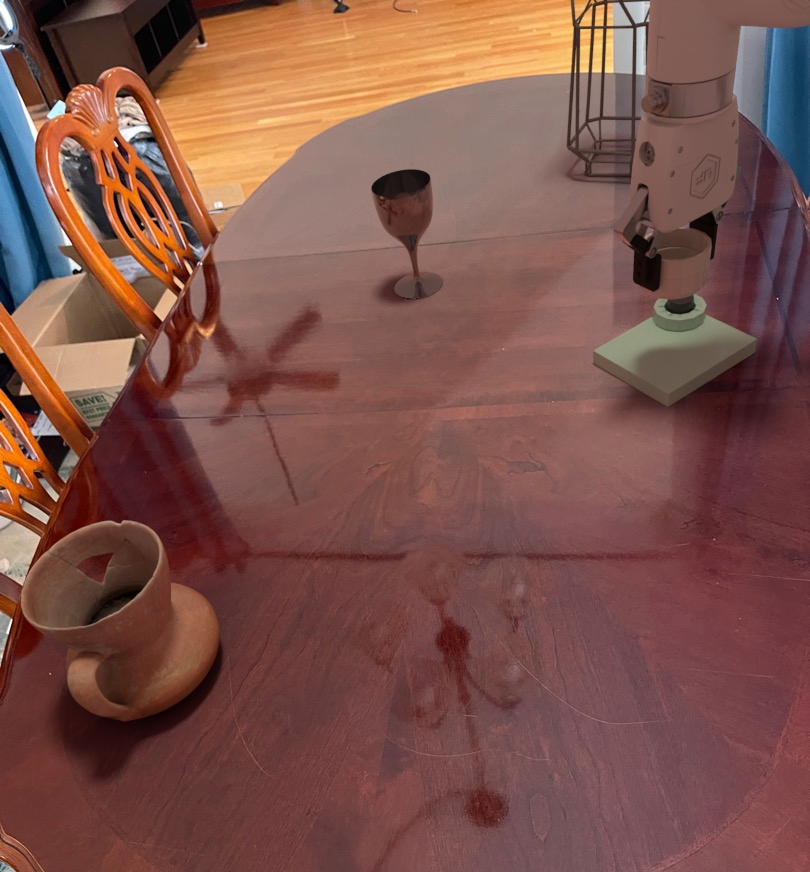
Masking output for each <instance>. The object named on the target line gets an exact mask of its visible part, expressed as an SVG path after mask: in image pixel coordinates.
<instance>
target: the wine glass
mask: <svg viewBox="0 0 810 872" xmlns="http://www.w3.org/2000/svg"><path fill="white" fill-rule="evenodd" d="M370 189H371V196H372V201H373V205H374V209H375V211H376V214H377V217H378V219H379V221H380V224H381V226H382V228H384V231H385V232H386V233H387V234H388V235H390V236H391V237H392V238H394V239H395V240H396V241H398V242H399V243H400V244H401V245H403V246H404V247H405V249H406V251H407V253H408V256H409V259H410V262H411V266H412V273H409V274H408V275H406V276H403V277H402V278H400V279H399V280H398V281H397V282H396V283H395V285H394V290H393V291H394V293H395V295H396V296H398V295H399V296H398V297H400V296H401V297H400V298H402V297H405V298H404V299H406V298H410V299H409V300H417V299H416V298H418V299H423V298H426V297H430V296H432V295H433V294H436V293H437V292H439V290H440V289H442V286H443V285H444V280H443V278H442V276H441V275H440V274H438V273H435V272H431V271H419V263H418V247H419V243H420V241H421V239H422V237H424V235H425V233H426V231H427V230H428V228H429V227H430V224H431V223H432V219H433V213H434V193H433V184H432V178H431V175H430V174H429V173H428V172H427V171H425V170H421V169H416V168H415V169H413V168H408V169H407V168H406V169H400V170H396V171H392V172H390V173H386V174H383V175H382V176H380V177H378V178H377V179H376V180H375V181H374V182H373V183H372V185H371V188H370ZM411 298H412V299H411Z"/></svg>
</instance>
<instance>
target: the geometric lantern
mask: <svg viewBox="0 0 810 872" xmlns="http://www.w3.org/2000/svg"><path fill="white" fill-rule="evenodd" d="M639 2H640V3H641V2H650V0H600V1H598V0H593V3H592V0H588V2H587V4H586V5H585V8H584V10H583V11H582V12H581V13H580V14H579V16H578V17H576V8H575V0H570V9H571V10H570V11H571V22H572V27H573V33H572V34H573V35H572V36H573V37H572V50H571V67H570V68H571V70H570V84H569V97H568V98H569V100H568V115H567V116H568V118H567V130H566V132H567V134H566V148H567V150H569V152H571V153H573V154H574V155H575V156H577V158H580V159H581V160H582V161H584V171H583V175H584V176H588V177H619V176H620V177H622V176H623V177H624V176H627V177H628V176H632V166H633V158H634V152H635V145H636V140H637V138H636V121H641V117H642V116H636V105H637V101H636V100H637V98H636V97H637V44H638V43H637V42H638V41H637V37H638V35H637V28H645V68H646V67H647V48H648V30H649V21H647V20H648V19H649V9H650V6H649V7H648V9H647V12H646V15H645V17H644V20H643V21H641V22H637V23H636V21H635V20H634V17H632V15H631V13H630V12H629V10H628V8H627V6H626V4H625V3H639ZM617 3H618V4H619V5H620V7H621V9H622V11H623V12H624V14H625V16H626V17H627V19H628V21H629V23H630V24H631V25H629V24H627V25H608V7H609V6H608V5H609V4H617ZM599 6H603V23H602V25H596V13H597V12H596V11H597V7H599ZM590 8H591V23H590V25H581V22H582V20H583V19H584V16H585V14H586V13H587V12H588V11H589V10H590ZM580 25H581V26H580ZM618 29H619V30H620V29H621V30H625V29H627V30H628V29H632V57H631V60H632V62H631V64H632V65H631V66H632V69H631V116H627V115H626V116H625V115H624V116H622V115H621V116H620V115H619V116H617V115H616V116H615V115H613V116H611V115H607V116H606V115H604V103H605V102H604V101H605V79H606V57H607V56H606V55H607V34H608V33H607V32H608V31H607V30H618ZM581 30H590V39H589V40H590V41H589V58H588V72H587V90H586V91H587V92H586V105H585V119H584V123H583V124H581V126H580V89H581V88H580V87H581V85H580V83H581V82H580V80H581V79H580V78H581V77H580V76H581ZM595 30H602V44H601V45H602V46H601V47H602V48H601V69H600V70H601V71H600V72H601V73H600V96H599V97H600V98H599V99H600V100H599V116H596V117H591V118H590V108H591V94H592V93H591V92H592V80H593V79H592V76H593V61H594V47H595ZM646 72H647V71H646V70H645V73H646ZM574 88H575V126H574V127H575V131H574V133H575V134H574V136H573V137H572V138H571V135H572V122H573V121H572V119H573V105H574V103H573V102H574ZM602 121H631V125H630V126H631V127H630V129H631V131H630V132H631V134H630V135H631V137H630V138H609V139H607V138H605V139H602ZM594 122H598V140H597V139H596V136H595V134H594V133H593V131H592V129H591V127H590V125H589V124H590V123H594ZM585 128H586V129H587V130H588V132H589V134H590V136H591V138H592V140H593V144H592V146H591V147H590V148H589V149H587V148H580V135H581V133H582V132H583V130H584V129H585ZM574 142H575V145H574V146H573V144H574ZM612 142H613V143H615V142H619V143H620V142H630V146H631V147H630V149H619V150H617V149H616V150H605V149H603V150H602V146H603V143H612ZM598 143H599V146H598V149H597V144H598ZM584 154H587V156H586V155H584ZM591 155H592V156H591ZM599 155H610V156H611V155H613V156H624V157H625V156H626V157H631V158H630V160H594V159H595V157H596V156H599ZM590 156H591V158H590ZM589 158H590V159H589ZM592 164H623V165H625V164H627V165H629V172H606V173H605V172H602V173H592V172H593V171H592Z"/></svg>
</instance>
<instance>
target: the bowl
mask: <svg viewBox="0 0 810 872" xmlns="http://www.w3.org/2000/svg"><path fill="white" fill-rule="evenodd" d="M652 233H653V231H652V232H650V233H648V234H645V236H644V238H645V239H646V240H647V241H650V238H651V235H652ZM711 248H712V243H711V238H710V237H709V236H708V235H707V234H706V233H705V232H702V231H700V230H697V229H694V228H689V227H688V226H687V227H686V226H682V227H680V228H678V229H676V230H674V231H672V232H669V233H665V234H664V237H663V239H662V242H661V244H660V247H659V249H658V252H657V253H659V254H660V255H661V256H662V261H661V274H660V287H659V289H658V290H656V291H655V292H652V291H650V290H648V289H646V288H644V287H642V286H640V288H641V289H642V291H643V292H644V293H645V294H647V295H649V296H651V297H653V298H656V299H659V298H660V299H681V298H685V297H689V296H691V295H693V294H695V295H696V294H697V293H698V292H699V291H701V290H702V289H703V288H704V286H705V285H706V284H707V282H708V280H709V279H708V278H709V271H710V265H711V260H710V256H711Z"/></svg>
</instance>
